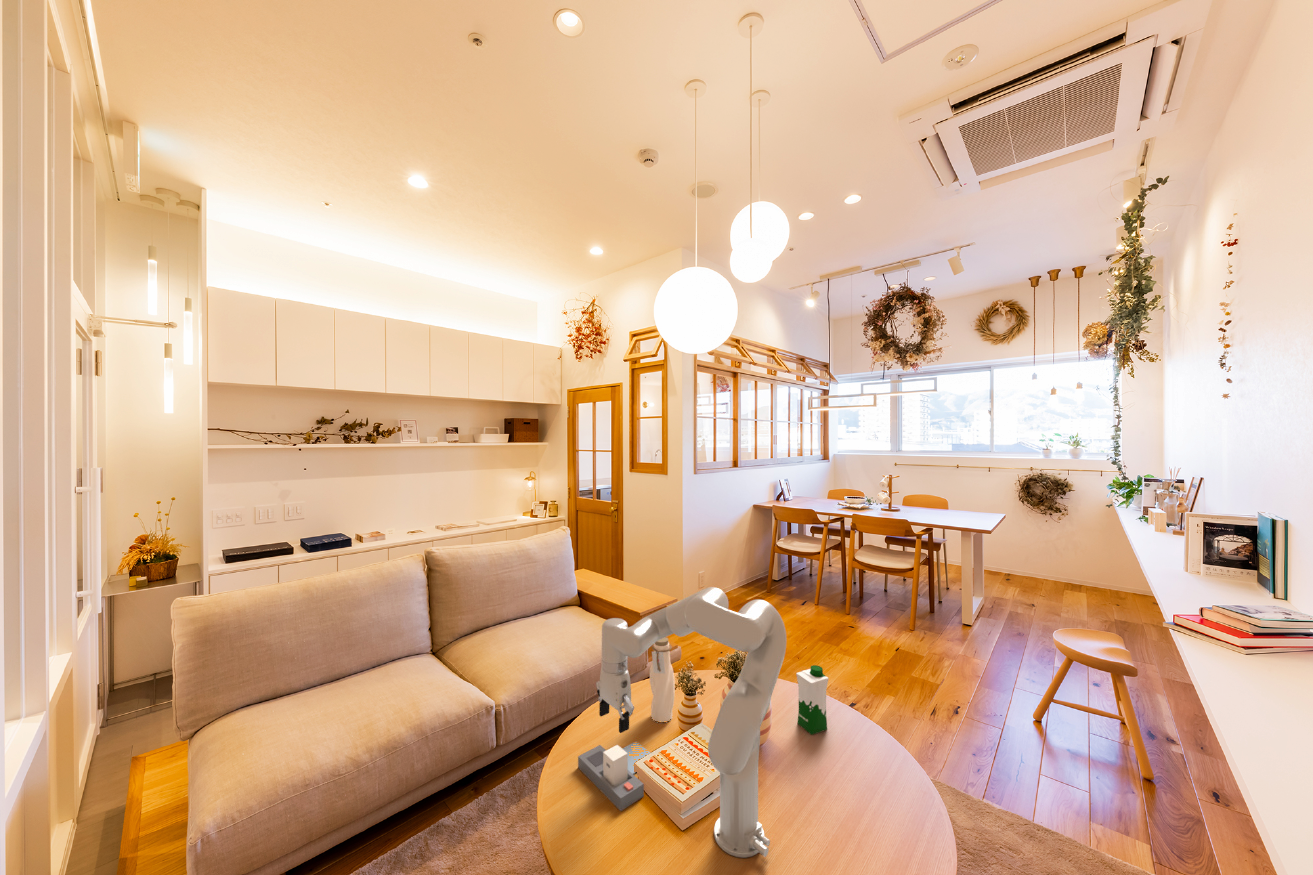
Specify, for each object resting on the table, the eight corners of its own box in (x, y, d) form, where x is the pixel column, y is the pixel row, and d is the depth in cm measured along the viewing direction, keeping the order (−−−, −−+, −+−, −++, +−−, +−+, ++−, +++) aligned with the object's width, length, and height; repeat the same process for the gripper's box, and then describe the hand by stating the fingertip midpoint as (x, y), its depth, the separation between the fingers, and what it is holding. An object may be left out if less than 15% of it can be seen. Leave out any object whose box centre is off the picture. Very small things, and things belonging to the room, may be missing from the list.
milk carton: (831, 730, 161) (831, 672, 161) (811, 737, 157) (810, 678, 157) (812, 716, 169) (812, 661, 169) (793, 722, 165) (793, 666, 165)
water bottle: (674, 726, 163) (674, 646, 163) (649, 726, 163) (648, 646, 163) (674, 709, 173) (674, 634, 173) (650, 709, 174) (649, 634, 173)
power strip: (643, 796, 132) (643, 782, 132) (620, 811, 127) (620, 796, 127) (600, 755, 149) (599, 743, 149) (578, 767, 143) (578, 754, 143)
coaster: (657, 760, 146) (657, 758, 146) (629, 776, 139) (629, 775, 139) (635, 742, 155) (635, 741, 155) (608, 757, 148) (608, 756, 148)
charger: (627, 780, 135) (627, 753, 135) (613, 789, 132) (613, 761, 132) (617, 771, 139) (617, 744, 139) (603, 779, 136) (603, 752, 136)
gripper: (643, 671, 131) (642, 731, 131) (608, 648, 144) (607, 704, 144) (621, 680, 126) (621, 743, 126) (587, 656, 139) (586, 713, 140)
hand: (613, 722), depth 135 cm, fingers open, 9 cm apart
